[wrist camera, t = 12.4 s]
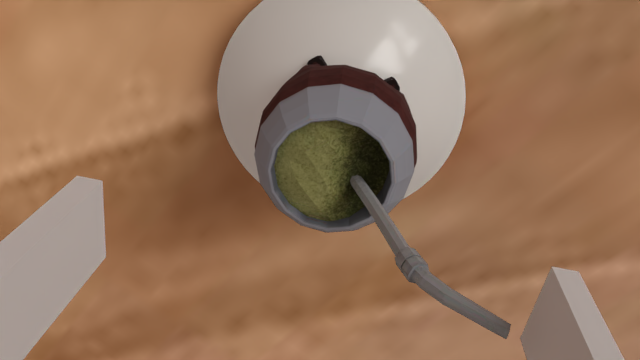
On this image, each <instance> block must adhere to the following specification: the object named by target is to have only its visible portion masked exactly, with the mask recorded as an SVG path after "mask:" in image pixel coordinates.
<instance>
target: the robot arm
mask: <svg viewBox="0 0 640 360" xmlns="http://www.w3.org/2000/svg"><path fill="white" fill-rule="evenodd" d="M105 258H106V245H105V223H104V202H103V181H102V180H97V179H91V178H86V177H81V176H76V177H75V178H74V179H73V180H72V181H70V182H69V183H68V184H67V185H66V186H65V187H63V188H62V189H61V190H60V191H59V192H58V193H57V194H55V195H54V196H53V197H52V198H51V199H50V200H48V201H47V202H46V203H45V204H44V205H43V206H41V207H40V208H39V209H38V210H37V211H36V212H34V213H33V214H32V215H31V216H30V217H29V218H28V219H26V220H25V221H24V222H23V223H22V224H21V225H19V226H18V227H17V228H16V229H15V230H14V231H12V232H11V233H10V234H9V235H8V236H7V237H6V238H4V239H3V240H2V241H1V242H0V360H23V359H24V358H25V357H26V355H27V354H28V353H29V352H30V350H31V349H32V348H33V347H34V346H35V344H36V343H37V342H38V341H39V339H40V338H41V337H42V336H43V334H44V333H45V332H46V331H47V329H48V328H49V327H50V326H51V324H52V323H53V322H54V321H55V320H56V318H57V317H58V316H59V315H60V313H61V312H62V311H63V310H64V308H65V307H66V306H67V305H68V303H69V302H70V301H71V300H72V298H73V297H74V296H75V295H76V294H77V292H78V291H79V290H80V289H81V287H82V286H83V285H84V284H85V282H86V281H87V280H88V279H89V277H90V276H91V275H92V274H93V272H94V271H95V270H96V269H97V268H98V266H99V265H100V264H101V263H102V261H103V260H104V259H105ZM520 339H521V342H522V345H523V349H524V352H525V355H526V358H527V360H624V358H623V356H622V354H621V352H620V350H619V348H618V346H617V344H616V342H615V340H614V338H613V336H612V335H611V333H610V331H609V329H608V327H607V325H606V323H605V321H604V319H603V317H602V315H601V313H600V311H599V310H598V308H597V306H596V304H595V302H594V300H593V298H592V296H591V294H590V292H589V290H588V288H587V286H586V285H585V283H584V281H583V279H582V277H581V275H580V273H579V272H578V271H573V270H568V269H563V268H557V267H551V269H550V272H549V274H548V276H547V278H546V281H545V283H544V285H543V287H542V290H541V292H540V294H539V297H538V299H537V301H536V303H535V306H534V308H533V310H532V312H531V315H530V317H529V319H528V322H527V324H526V326H525V328H524V331H523V333H522V335H521V337H520Z"/></svg>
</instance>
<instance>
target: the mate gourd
mask: <svg viewBox="0 0 640 360" xmlns="http://www.w3.org/2000/svg"><path fill="white" fill-rule="evenodd" d="M307 64H308V65H305V66H303V67H302V68H301V69H300V70H299V71H298V72H297V73H296V74H295V75H294V76H292V77H291V78H290V79H289V80H288V81H287V82H286V83H285V84H284V85H283V86H282V87H281V88H280V89H279V91H278V92H277V93H276V95H275V96H274V97H273V98H272V100H271V101H270V102H269V104H268V105H267V106H266V107H265V109H264V110H263V113H262V116H261V120H260V124H259V129H258V133H257V137H256V142H255V153H254V156H255V161H256V166H257V171H258V176H259V181H260V184H261V185H262V187H263V188H264V190H265V191H266V193H267V194H268V196H269V197H270V199H271V200H272V202H273V203H274V205H275V206H276V207H277V208H278V209H279V210H280V211H281V212H283V213H284V214H286V215H287V216H288V217H290V218H291V219H293V220H294V221H296V222H297V223H298V224H300V225H302V226H305V227H309V228H313V229H316V230H320V231H323V232H341V231H354V230H357V229H360V228H362V227H364V226H367V225H369V224H371V223H374V222H376V224H377V226H378V227H379V229H380V231H381V232H382V234H383V236H384V237H385V239H386V241H387V242H388V244H389V246H390V247H391V249H392V251H393V253H394V254H395V256H396V257H395V261H396V265H397V266H398V268H399V269H400V270H401V272H402V273H403V275H404V276H405V277H406V278H407V280H408V281H409V282H412V283H416V284H417V285H418V286H419V287H420V288H421V289H423V290H424V291H425V292H427V293H428V294H429V295H431V296H432V297H433V298H435V299H436V300H438V301H439V302H440V303H442V304H443V305H445V306H447V307H449V308H450V309H452V310H454V311H456V312H458V313H459V314H461V315H463V316H465V317H467V318H468V319H470V320H472V321H474V322H476V323H478V324H479V325H481V326H483V327H485V328H487V329H488V330H490V331H492V332H494V333H496V334H498V335H500V336H501V337H503V338H505V339H507V336H508V334H509V330H510V325H511V324H509V323H507V322H506V321H504V320H503V319H501V318H499V317H498V316H496V315H494V314H493V313H491V312H489V311H488V310H486V309H484V308H483V307H481V306H479V305H478V304H476V303H474V302H473V301H471V300H470V299H468V298H466V297H465V296H463V295H461V294H460V293H458V292H456V291H455V290H453V289H451V288H450V287H449V286H447V285H446V284H445V283H443V282H442V281H441V280H439V279H438V278H437V277H435V276H434V275H432V274H431V273H430V272H429V269H428V264H427V263H426V262H425V260H424V259H423V258H422V257H421V256H420V255H419V253H418V252H417V251H416V250H415V249H414V248H410V247H409V246H408V244H407V243H406V241H405V239H404V238H403V236H402V235H401V233H400V232H399V230H398V229H397V227H396V226H395V224H394V223H393V221H392V220H391V218H390V217H389V215H388V213H389V212H390V211H391V210H392V209H393V208H394V207H395V206H396V205H397V204H398V203H399V202H400V201H401V200H402V199H403V198H404V196H405V193H406V191H407V188H408V186H409V183H410V181H411V178H412V176H413V173H414V168H415V166H416V163H417V137H416V124H415V122H414V119H413V117H412V114H411V111H410V108H409V105H408V103H407V101H406V98H405V96H404V94H402V93H401V92H400V87H399V85H398V83H397V81H396V80H395V78H394V77H389V78H387V79H385V80H383V79H382V78H380V77H379V76H378V75H377V74H375V73H372V72H369V71H365V70H362V69H358V68H355V67H351V66H348V65H327V64H326V62H325V61H324V59H323V58H322V56H316V57H314V58H312V59H310V60H309V61H308V63H307Z"/></svg>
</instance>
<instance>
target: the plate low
mask: <svg viewBox="0 0 640 360" xmlns="http://www.w3.org/2000/svg"><path fill="white" fill-rule="evenodd" d="M316 56H322V58H323V59H324V61H325V62H326V64H327V65H348V66H351V67H355V68H358V69H362V70H365V71H369V72H372V73H375V74H377V75H378V76H379V77H380V78H382V79H383V80H385V79H387V78H389V77H394V78H395V80H396V81H397V83H398V85H399V87H400V92H401V93H402V94H404V96H405V98H406V101H407V103H408V105H409V108H410V111H411V114H412V117H413V119H414V122H415V124H416V137H417V163H416V166H415V168H414V173H413V176H412V178H411V181H410V183H409V186H408V188H407V191H406V193H405V196H404V198H406V197H407V196H409V195H411V194H412V193H414V192H415V191H417V190H418V189H419V188H421V187H422V186H423V185H424V184H425V183H427V182H428V181H429V180H430V179H431V178H432V177H433V176H434V175H435V174H436V173H437V171H438V170H439V169H440V168H441V167H442V165H443V164H444V162H445V161H446V160H447V158H448V157H449V155H450V153H451V151H452V149H453V147H454V146H455V144H456V141H457V139H458V136H459V133H460V130H461V127H462V123H463V118H464V114H465V102H466V92H465V80H464V75H463V70H462V65H461V62H460V59H459V57H458V54H457V51H456V49H455V47H454V45H453V43H452V41H451V39H450V37H449V35H448V33H447V32H446V30H445V29H444V27H443V26H442V24H441V23H440V22H439V20H438V19H437V17H436V16H435V15H434V14H433V13H432V12H431V11H430V10H429V9H428V8H427V7H426V6H425V5H424V4H423V3H421V2H420V1H419V0H263V1H262V2H261V3H259V4H258V5H257V6H256V7H255V8H254V9H253V10H252V11H251V12H250V13H249V14H248V15H247V16H246V17H245V19H244V20H243V21H242V22H241V23H240V25H239V26H238V27H237V29H236V31H235V32H234V34H233V36H232V37H231V39H230V41H229V43H228V45H227V48H226V50H225V52H224V55H223V58H222V62H221V66H220V69H219V77H218V84H217V101H218V108H219V116H220V119H221V123H222V127H223V130H224V133H225V135H226V137H227V140H228V142H229V144H230V146H231V148H232V150H233V151H234V153H235V155H236V157H237V158H238V159H239V161H240V162H241V163H242V165H243V166H244V167H245V169H246V170H247V171H248V172H249V173H250V174H251V175H252V176H253V177H254V178H255V179H256V180H257V181H258V182H259V183H260V181H259V176H258V171H257V166H256V161H255V156H254V153H255V142H256V137H257V133H258V129H259V124H260V120H261V116H262V113H263V110H264V109H265V107H266V106H267V105H268V104H269V102H270V101H271V100H272V98H273V97H274V96H275V95H276V93H277V92H278V91H279V89H280V88H281V87H282V86H283V85H284V84H285V83H286V82H287V81H288V80H289V79H290V78H291V77H292V76H294V75H295V74H296V73H297V72H298V71H299V70H300V69H301V68H302V67H303V66H305V65H308V64H307V63H308V61H309V60H310V59H312V58H314V57H316ZM404 198H403V199H404Z"/></svg>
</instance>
